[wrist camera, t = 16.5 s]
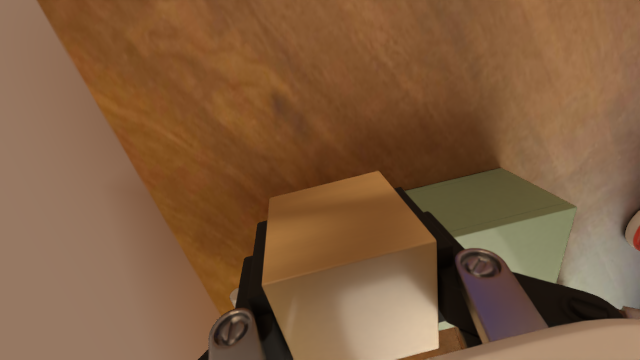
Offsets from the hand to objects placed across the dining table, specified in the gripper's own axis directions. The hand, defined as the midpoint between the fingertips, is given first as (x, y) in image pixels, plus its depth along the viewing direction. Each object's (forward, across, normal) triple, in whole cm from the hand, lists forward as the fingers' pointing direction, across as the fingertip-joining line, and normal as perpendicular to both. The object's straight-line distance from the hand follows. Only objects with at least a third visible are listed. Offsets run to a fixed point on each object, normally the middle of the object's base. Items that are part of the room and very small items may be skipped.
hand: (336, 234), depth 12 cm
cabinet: (+16, -13, +14) cm, 25 cm away
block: (0, 0, 0) cm, 0 cm away
